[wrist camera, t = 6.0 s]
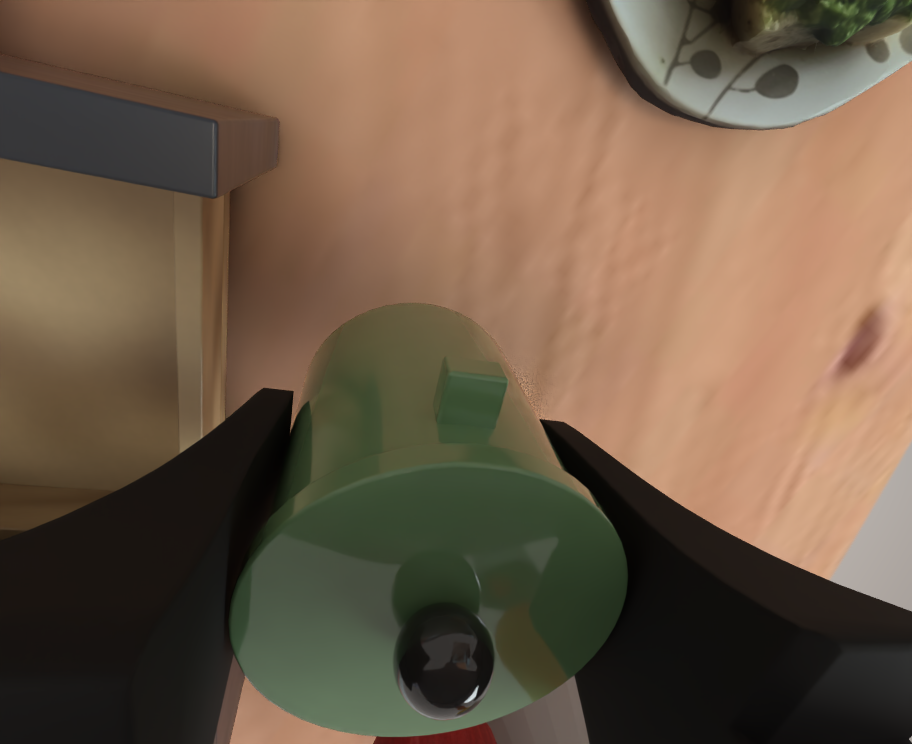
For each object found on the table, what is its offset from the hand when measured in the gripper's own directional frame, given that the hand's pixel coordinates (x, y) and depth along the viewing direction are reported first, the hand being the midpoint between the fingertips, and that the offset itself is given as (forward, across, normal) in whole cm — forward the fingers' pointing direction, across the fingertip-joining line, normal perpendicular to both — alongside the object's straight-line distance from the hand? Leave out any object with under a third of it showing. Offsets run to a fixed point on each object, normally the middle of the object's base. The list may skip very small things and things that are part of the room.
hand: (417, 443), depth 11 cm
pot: (+2, 0, 0) cm, 2 cm away
